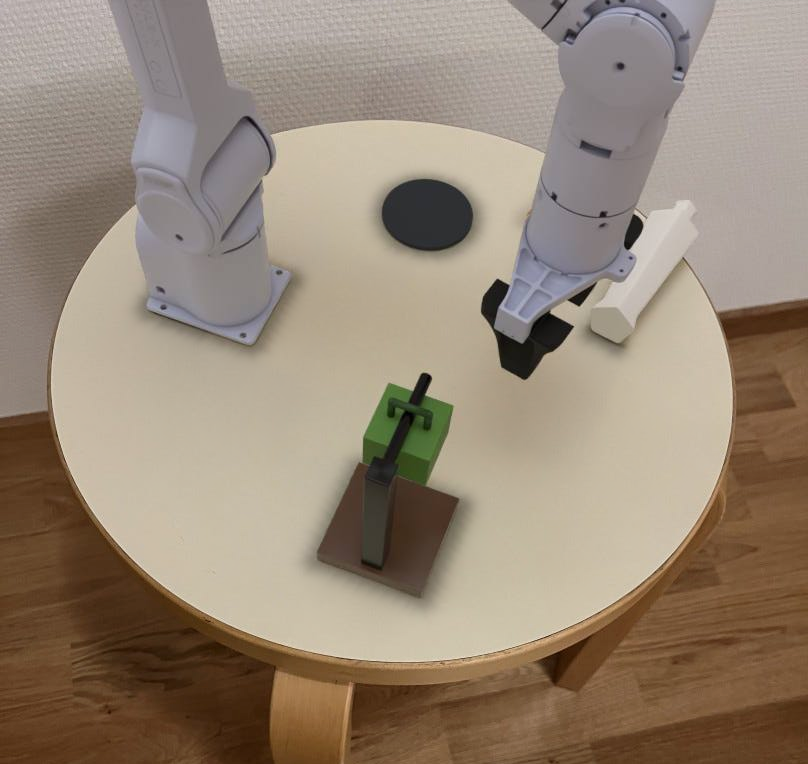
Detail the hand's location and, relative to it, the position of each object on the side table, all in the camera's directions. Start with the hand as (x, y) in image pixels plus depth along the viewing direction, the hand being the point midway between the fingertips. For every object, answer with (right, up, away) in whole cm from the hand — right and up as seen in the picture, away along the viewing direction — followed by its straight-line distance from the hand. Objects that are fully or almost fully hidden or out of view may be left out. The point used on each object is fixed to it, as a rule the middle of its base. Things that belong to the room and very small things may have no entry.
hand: (542, 332), depth 62 cm
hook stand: (-11, -14, +4) cm, 18 cm away
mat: (-8, +14, +17) cm, 23 cm away
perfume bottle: (+7, +3, +11) cm, 13 cm away
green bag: (-10, -8, -4) cm, 13 cm away
